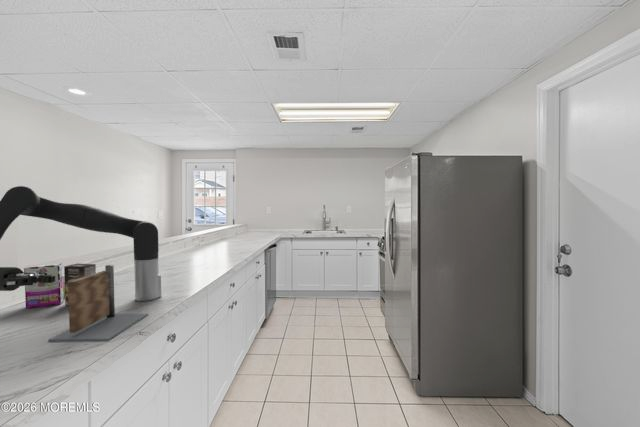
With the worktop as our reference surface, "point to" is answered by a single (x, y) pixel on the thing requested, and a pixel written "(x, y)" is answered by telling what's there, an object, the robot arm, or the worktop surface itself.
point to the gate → (88, 300)
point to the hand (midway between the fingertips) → (53, 278)
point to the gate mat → (101, 328)
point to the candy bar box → (45, 287)
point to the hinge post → (111, 290)
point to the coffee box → (76, 274)
